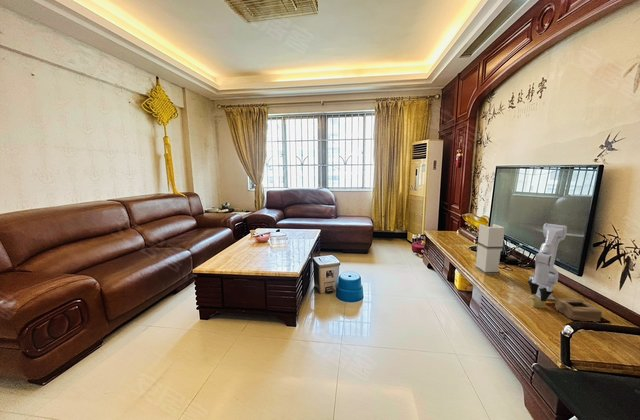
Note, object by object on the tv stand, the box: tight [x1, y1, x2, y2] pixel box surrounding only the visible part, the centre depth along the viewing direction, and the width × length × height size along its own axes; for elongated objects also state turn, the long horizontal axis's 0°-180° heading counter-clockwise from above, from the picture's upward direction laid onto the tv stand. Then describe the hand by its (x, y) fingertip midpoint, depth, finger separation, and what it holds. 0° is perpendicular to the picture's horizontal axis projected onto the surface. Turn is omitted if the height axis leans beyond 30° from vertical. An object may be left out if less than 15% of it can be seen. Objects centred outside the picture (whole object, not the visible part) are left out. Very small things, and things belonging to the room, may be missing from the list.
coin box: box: [554, 297, 603, 323], centre depth 132 cm, size 12×12×6 cm
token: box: [529, 297, 547, 309], centre depth 141 cm, size 3×6×4 cm, turn 82°
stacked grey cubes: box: [475, 223, 505, 276], centre depth 185 cm, size 11×11×35 cm
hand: (538, 297), depth 140 cm, fingers open, 7 cm apart
